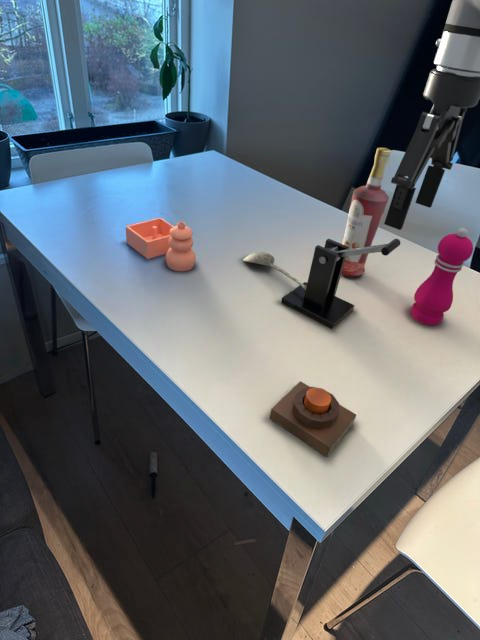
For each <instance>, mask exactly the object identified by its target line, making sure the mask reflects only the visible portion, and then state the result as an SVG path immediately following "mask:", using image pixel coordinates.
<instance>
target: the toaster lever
mask: <svg viewBox="0 0 480 640" xmlns="http://www.w3.org/2000/svg"><path fill="white" fill-rule="evenodd" d="M400 246H401V240H400V239H399V238H394V239H392V240H391V241H390V242H389V243H383V244H376V245H371V246H369V247H362V248H354V249H347V250H340V251H339V250H338V247H330V248H326V249H329V250H331V251H333V252H336V253H338V258H337V261H338V260H339V259H340V257H344V256H352V255H360V254H368V253H369V254H374V253H381V255H382V256H384V257H385V256H389V255H390V254H391V253H392V252H393V251H395V250H396V249H397V248H398V247H400ZM369 254H368V255H369Z"/></svg>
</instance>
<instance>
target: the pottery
mask: <svg viewBox="0 0 480 640" xmlns="http://www.w3.org/2000/svg"><path fill="white" fill-rule="evenodd" d="M193 234H194V233H193V230H192V228H191V227H189V226H187V225H186V222H184V221H179V222H177V225H175V226H174V225H173V224H171V223H169V222H168V221H167V220H165V219H163V218H162V217H157V218H153V219H149V220H144V221H141V222H137V223H133V224H129V225H125V241H126V244H127V245H128V246H130V247H131V248H133V249H134V250H135V251H136V252H138V253H139V254H140V255H142V257H144V258H145V259H147V260H150V259H153V258H156V257H159V256H163V255H165V262H166V266H167V267H168V269H170V270H172V271H175V272H186V271H190V270H191V269H193V268H194V266H195V263H196V253H195V251H194V250H193V249H192V248H193V245H194V240H193V238H192V236H193Z"/></svg>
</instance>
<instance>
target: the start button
mask: <svg viewBox="0 0 480 640" xmlns="http://www.w3.org/2000/svg"><path fill="white" fill-rule="evenodd" d="M321 388H322V387H317V388H311V389H309V390H308V391H307V393H306V397H305V400H304V405H305V407H306V408H307V409H308V410H309V411H310V412H312V413H315V414H323V413H325V412H327V411H328V409H329V406H330V403H331V396H330V394H329V393H330V392H329V391H328V390H326V389H324V388H322V389H321ZM327 391H328V392H329V393H328V392H327Z"/></svg>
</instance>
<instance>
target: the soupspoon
mask: <svg viewBox="0 0 480 640" xmlns="http://www.w3.org/2000/svg"><path fill="white" fill-rule="evenodd" d="M242 261H243V262H247V263H253V264H257V265H263V266H267V267H270V268H273V269H274V270H277V271H278V272H280V273H282V274H283V275H285V276H286V277H288V278H289V279H290V280H292V281H293V282H295V283H297V285H298V286H300V285H301V286H302V287H303V289H305V291H306V285H304V284H303V282H301V281H300V280H298V279H297V278H296V277H294V276H293V275H292V274H290V273H288V272H287V271H286V270H284V269H282V268H281V267H279V266H277V265H275V264H274V263H275V257H274V255H272V254H270V253H268V252H264V251H263V252H262V251H258V252H253V253H249V254H248V255H247V256H245V257H244V258H243V259H242Z"/></svg>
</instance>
